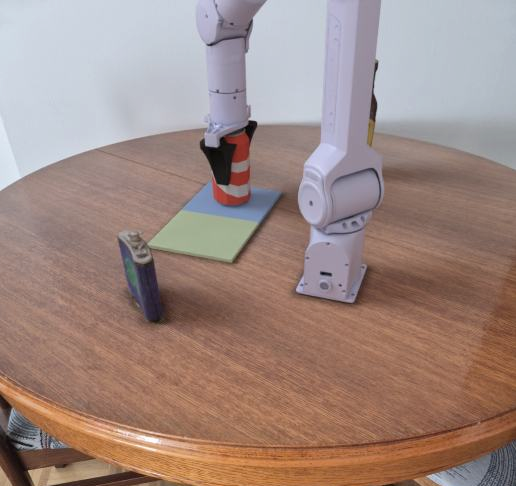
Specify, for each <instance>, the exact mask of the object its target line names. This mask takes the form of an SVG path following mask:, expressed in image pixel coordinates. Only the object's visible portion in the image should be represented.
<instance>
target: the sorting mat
mask: <svg viewBox="0 0 516 486" xmlns="http://www.w3.org/2000/svg"><path fill="white" fill-rule="evenodd" d="M250 191H251V196H250V198H249V200H248V201H246V202H244V203H243V204H241V205H238V206H225V205H222V204H221V203H218V202H217V201H216V200H215V199H214V197H213V183H212V180H211V181H208V182H207V183H206V184H204V186H203V187H202V188H201V189H200V190H199V191H198V192H197V193H196V194H195V195H194V196H193V197H192V198H191V199H190V200H189V201H188V202H187V203H186V204H185V205H184V206H183V207H182V208H181V209H180V210H179V211H178V212H177V213H176V214H175V215H174V216H173V218H171V219H170V220H169V221H168V223H166V224H165V225H164V226H163V227H162V229H160V231H158V232H157V233H156V235H154V236H153V237H152V238H151V240H149V241H148V242H147V244H148V246H149V248H150V249H153V250H159V251H163V252H169V253H175V254H181V255H185V256H190V257H195V258H196V257H197V258H202V259H207V260H214V261H219V262H224V263H230V264H232V263H233V262H234V261H235V259H237V256H238V255H239V254H240V252H241V251H242V250H243V248H244V247H245V246H246V244H247V243H248V241H250V239H251V238H252V236H253V235H254V233H255V232H256V230H257V229H258V228H259V227H260V225H261V224H262V222H263V221H264V219H265V218H266V217H267V216H268V214H269V212H270V211H271V210H272V208H273V207H274V206H275V204H276V202H278V201H279V199H280V197H281V196H282V193H283V192H282V191H280V190H274V189H267V188H260V187H253V186H250Z"/></svg>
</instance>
